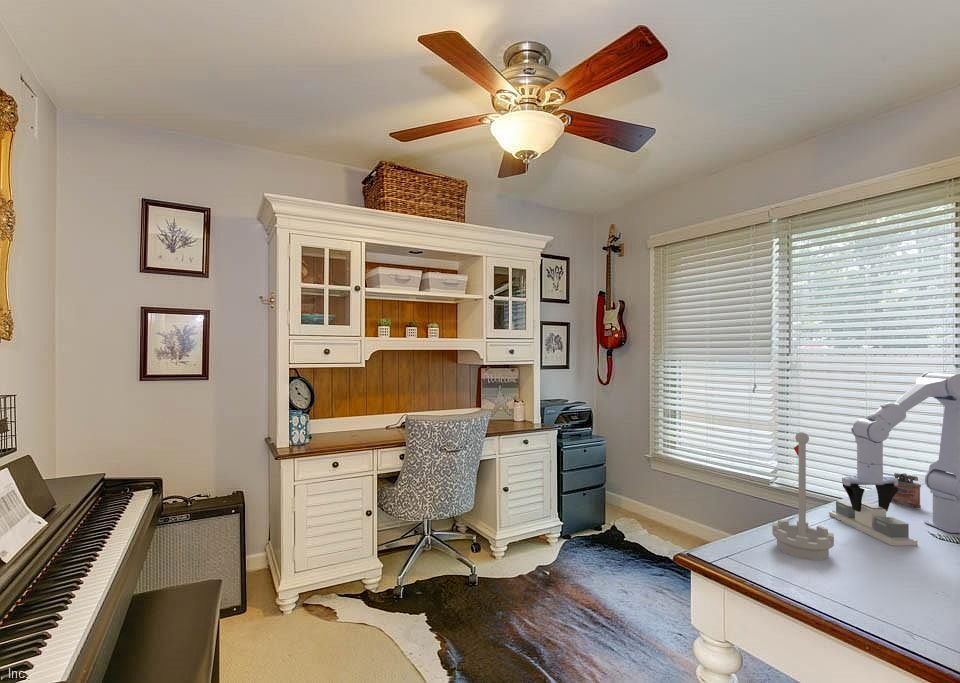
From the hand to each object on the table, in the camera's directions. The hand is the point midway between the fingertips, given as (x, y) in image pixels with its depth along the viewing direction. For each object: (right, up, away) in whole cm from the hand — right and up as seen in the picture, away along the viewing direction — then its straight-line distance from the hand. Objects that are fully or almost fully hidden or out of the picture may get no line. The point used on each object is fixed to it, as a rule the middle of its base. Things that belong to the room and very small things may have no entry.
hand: (869, 510), depth 138 cm
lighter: (+28, -6, +21) cm, 35 cm away
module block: (0, -4, 0) cm, 4 cm away
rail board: (0, -5, 0) cm, 5 cm away
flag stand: (-28, -6, -14) cm, 32 cm away
